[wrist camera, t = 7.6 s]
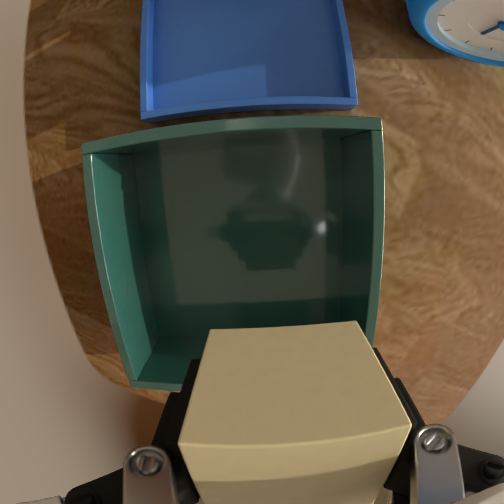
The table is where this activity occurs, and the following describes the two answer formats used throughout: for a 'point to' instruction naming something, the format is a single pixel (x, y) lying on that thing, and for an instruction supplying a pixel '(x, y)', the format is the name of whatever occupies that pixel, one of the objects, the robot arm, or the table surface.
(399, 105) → the table surface
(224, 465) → the cream block
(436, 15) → the alarm clock
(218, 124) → the green storage bin
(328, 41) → the blue shallow tray
